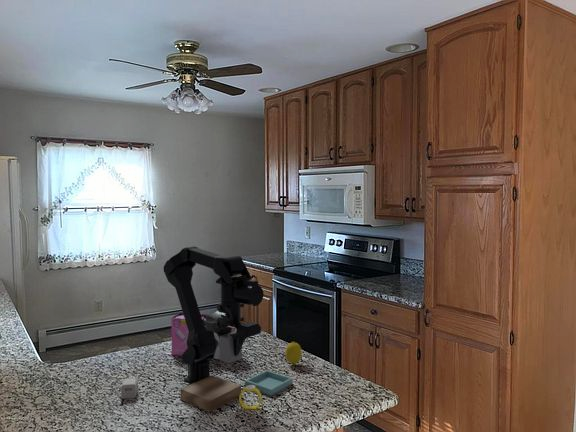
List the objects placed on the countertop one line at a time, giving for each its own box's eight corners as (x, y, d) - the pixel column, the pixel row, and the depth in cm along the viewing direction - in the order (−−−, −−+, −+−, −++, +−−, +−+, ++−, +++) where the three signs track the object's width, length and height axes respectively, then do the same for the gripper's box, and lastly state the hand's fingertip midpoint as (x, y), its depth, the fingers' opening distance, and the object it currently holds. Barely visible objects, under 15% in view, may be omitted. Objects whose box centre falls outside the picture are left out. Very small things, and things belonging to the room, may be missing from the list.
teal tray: (244, 387, 135) (244, 380, 135) (266, 376, 143) (266, 370, 143) (271, 396, 129) (271, 389, 129) (292, 384, 137) (292, 378, 137)
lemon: (300, 368, 149) (300, 344, 149) (283, 367, 151) (283, 343, 150) (302, 362, 155) (303, 339, 154) (287, 361, 156) (287, 338, 156)
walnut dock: (180, 399, 127) (180, 388, 127) (211, 384, 136) (211, 375, 136) (210, 411, 120) (210, 400, 119) (241, 395, 129) (241, 385, 129)
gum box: (241, 353, 164) (241, 316, 163) (234, 361, 156) (234, 322, 155) (180, 347, 169) (180, 312, 168) (170, 355, 161) (170, 317, 161)
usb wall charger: (121, 398, 127) (120, 385, 127) (125, 388, 134) (124, 375, 134) (135, 397, 128) (135, 383, 128) (139, 387, 135) (139, 374, 134)
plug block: (219, 359, 129) (219, 335, 129) (232, 355, 133) (232, 331, 133) (229, 363, 127) (229, 338, 126) (241, 358, 131) (241, 334, 130)
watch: (239, 411, 121) (237, 389, 121) (241, 406, 124) (239, 385, 123) (261, 410, 120) (259, 388, 120) (262, 405, 123) (261, 384, 123)
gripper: (187, 300, 129) (187, 354, 129) (233, 311, 117) (233, 370, 118) (216, 293, 137) (217, 344, 138) (262, 303, 126) (262, 358, 126)
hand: (230, 353), depth 130 cm, fingers closed on plug block, 4 cm apart
